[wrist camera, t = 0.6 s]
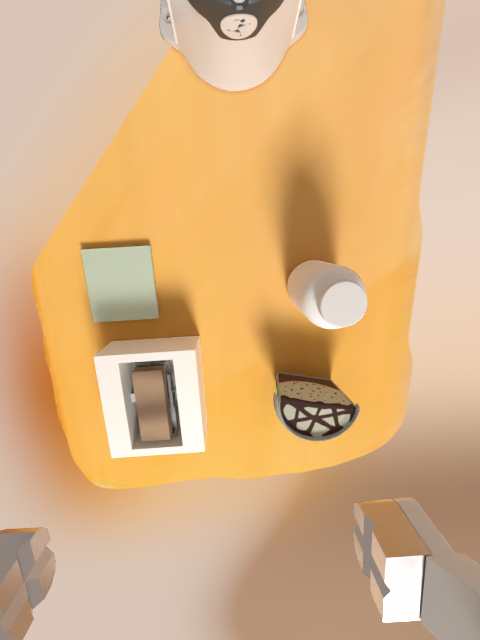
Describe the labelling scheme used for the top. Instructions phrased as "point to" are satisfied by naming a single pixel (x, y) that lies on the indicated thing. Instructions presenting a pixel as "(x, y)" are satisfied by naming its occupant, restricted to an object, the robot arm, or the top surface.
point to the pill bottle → (327, 294)
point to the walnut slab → (153, 402)
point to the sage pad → (121, 283)
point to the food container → (313, 407)
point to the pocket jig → (121, 402)
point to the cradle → (170, 386)
